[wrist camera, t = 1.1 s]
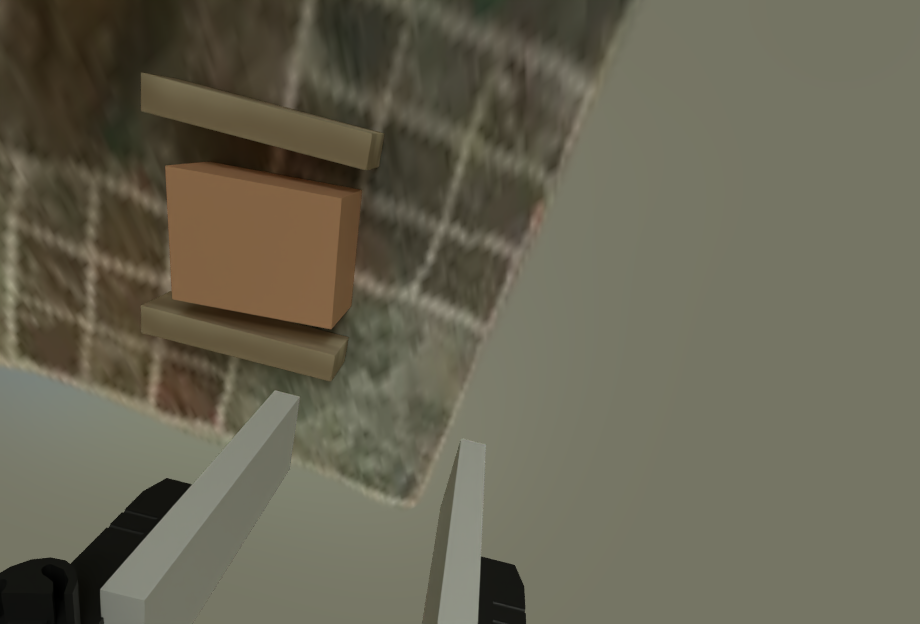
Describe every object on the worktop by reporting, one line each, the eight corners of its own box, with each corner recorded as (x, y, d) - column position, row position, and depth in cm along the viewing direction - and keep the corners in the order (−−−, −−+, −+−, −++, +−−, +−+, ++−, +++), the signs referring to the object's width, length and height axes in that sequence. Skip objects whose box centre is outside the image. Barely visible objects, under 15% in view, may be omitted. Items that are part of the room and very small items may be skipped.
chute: (175, 78, 29) (141, 72, 26) (384, 133, 29) (372, 133, 26) (170, 316, 34) (141, 332, 32) (344, 361, 35) (330, 381, 32)
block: (210, 161, 31) (165, 165, 26) (363, 189, 31) (341, 198, 26) (213, 278, 34) (172, 299, 29) (352, 304, 33) (331, 329, 29)
